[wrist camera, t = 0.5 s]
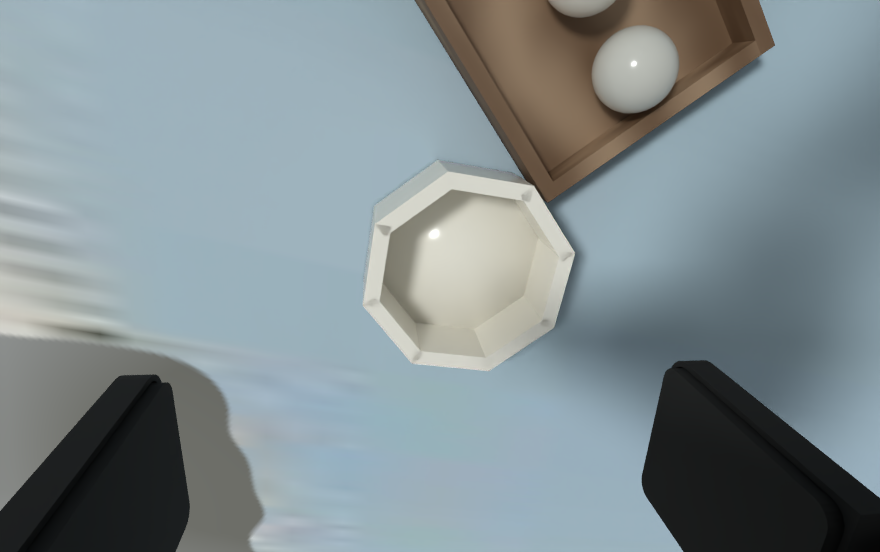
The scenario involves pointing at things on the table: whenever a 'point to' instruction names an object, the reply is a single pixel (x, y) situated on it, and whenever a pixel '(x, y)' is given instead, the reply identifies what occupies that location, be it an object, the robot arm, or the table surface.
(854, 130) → the table surface
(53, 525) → the robot arm
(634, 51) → the white ball
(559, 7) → the pebble
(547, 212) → the bowl
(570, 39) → the tray
